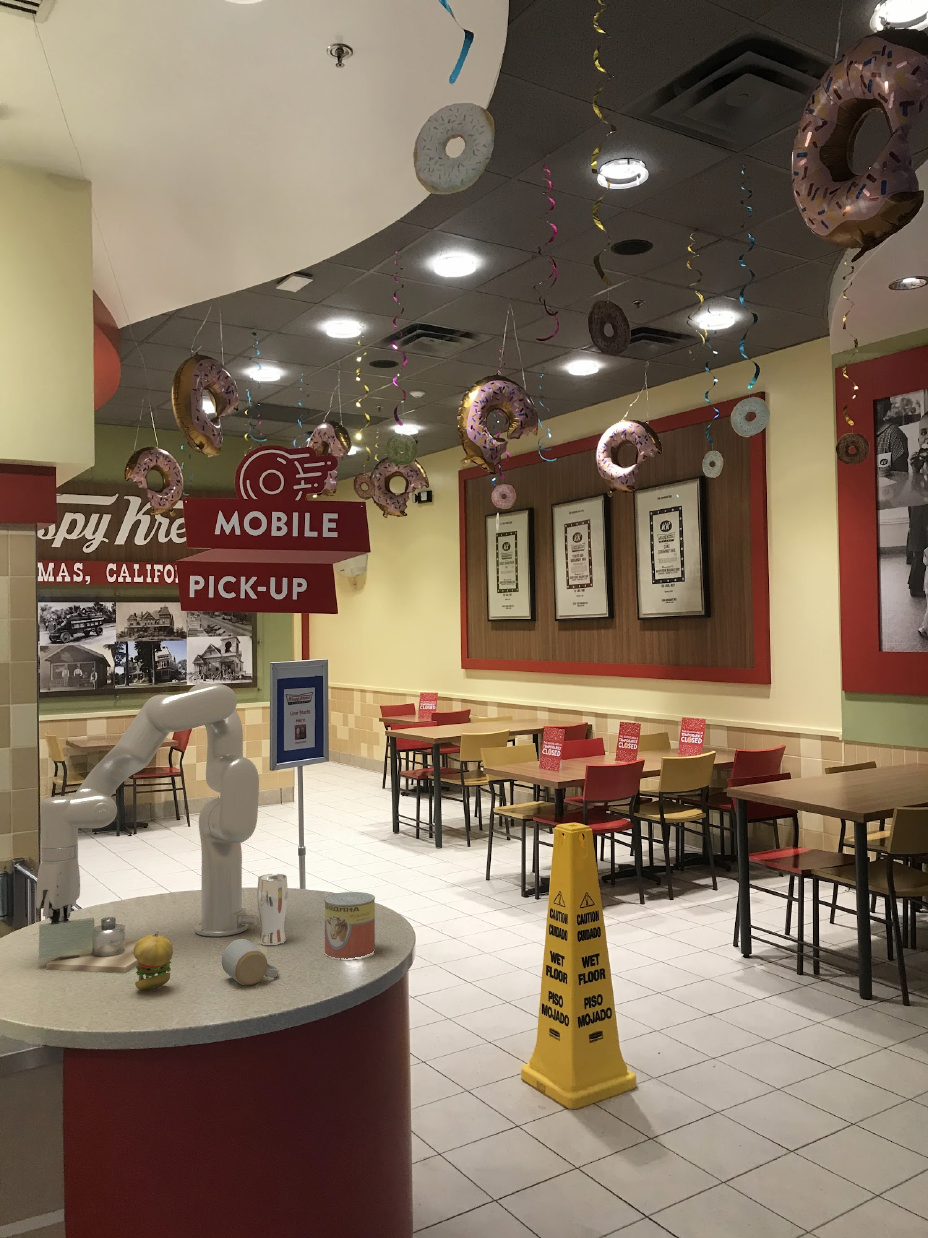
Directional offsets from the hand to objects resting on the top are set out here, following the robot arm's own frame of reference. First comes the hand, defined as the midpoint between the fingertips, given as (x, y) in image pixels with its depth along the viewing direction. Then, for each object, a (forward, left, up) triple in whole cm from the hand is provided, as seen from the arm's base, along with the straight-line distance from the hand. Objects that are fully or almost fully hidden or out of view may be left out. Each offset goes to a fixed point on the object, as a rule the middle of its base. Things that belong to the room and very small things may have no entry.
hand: (60, 937), depth 208 cm
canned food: (-62, -14, -5) cm, 63 cm away
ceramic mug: (-47, +6, -5) cm, 47 cm away
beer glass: (-42, -19, -5) cm, 46 cm away
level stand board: (-10, -3, -5) cm, 11 cm away
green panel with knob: (-6, 0, -3) cm, 7 cm away
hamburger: (-30, +15, -5) cm, 34 cm away
